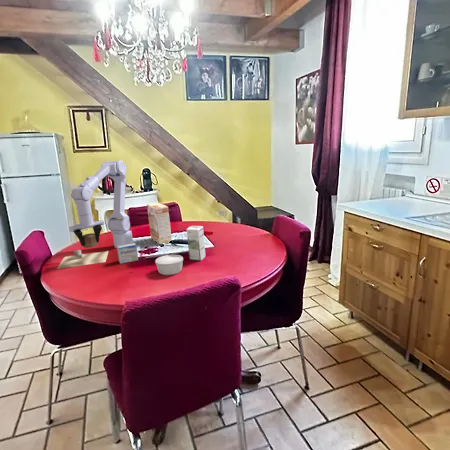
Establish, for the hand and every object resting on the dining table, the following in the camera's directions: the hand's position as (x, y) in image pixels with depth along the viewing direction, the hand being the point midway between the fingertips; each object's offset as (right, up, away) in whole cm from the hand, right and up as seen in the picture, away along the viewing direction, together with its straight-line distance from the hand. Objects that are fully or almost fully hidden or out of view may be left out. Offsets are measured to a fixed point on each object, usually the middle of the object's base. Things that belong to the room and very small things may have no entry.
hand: (90, 243), depth 150 cm
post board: (-4, -9, +5) cm, 11 cm away
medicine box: (+18, -9, 0) cm, 20 cm away
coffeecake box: (+26, 0, +30) cm, 40 cm away
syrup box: (+48, -7, 0) cm, 49 cm away
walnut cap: (0, -1, 0) cm, 1 cm away
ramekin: (+38, -11, -12) cm, 41 cm away
